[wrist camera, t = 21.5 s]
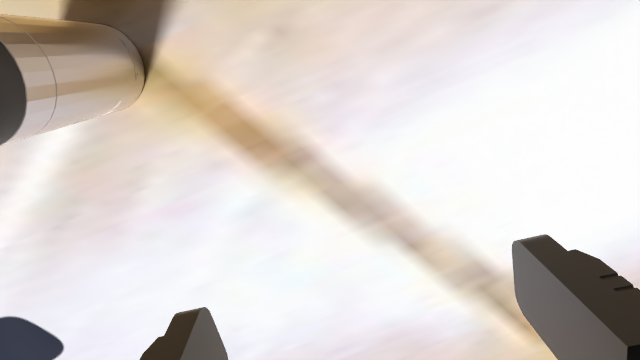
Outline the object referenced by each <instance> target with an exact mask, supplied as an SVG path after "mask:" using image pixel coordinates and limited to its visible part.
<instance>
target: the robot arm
mask: <svg viewBox="0 0 640 360" xmlns="http://www.w3.org/2000/svg"><path fill="white" fill-rule="evenodd" d="M144 78H145V74H144V66H143V62H142V59H141V56H140V54H139V52H138V50H137V49H136V47H135V46H134V45H133V43H132V42H131V41H130V40H129V39H128V38H127V37H126V36H125V35H124V34H123V33H121V32H120V31H118V30H116V29H115V28H112V27H110V26H107V25H103V24H97V23H86V22H77V21H67V20H57V19H46V18H36V17H25V16H15V15H4V14H0V146H2V145H5V144H8V143H12V142H15V141H18V140H22V139H25V138H28V137H31V136H34V135H38V134H41V133H44V132H48V131H51V130H55V129H58V128H61V127H65V126H68V125H71V124H75V123H78V122H82V121H85V120H88V119H92V118H95V117H98V116H102V115H105V114H109V113H112V112H115V111H119V110H122V109H125V108H126V107H128V106H130V105H131V104H132V103H133V102H135V101H136V100H137V98H138V97H139V95H140V94H141V91H142V88H143V86H144ZM512 258H513V271H514V285H515V294H516V299H517V302H518V304H519V307H520V309H521V311H522V313H523V315H524V316H525V318H526V319H527V320H528V322H529V323H530V324H531V325H532V327H533V328H534V329H535V331H536V332H537V333H538V334H539V336H540V337H541V338H542V340H543V341H544V342H545V344H546V345H547V346H548V347H549V349H550V350H551V351H552V353H553V354H554V355H555V356H556V358H557V359H558V360H640V290H639V289H638V288H634V287H633V284H631V283H630V282H629V281H627V280H626V279H625V278H623V277H622V276H618V274H617V272H615V271H614V270H613V269H612V268H610V267H609V266H608V265H606V264H605V263H604V262H602V261H601V260H600V259H598V258H595V257H593V256H590V255H588V254H585V253H583V252H581V251H578V250H576V249H575V250H570V251H567V250H566V249H564V248H563V247H562V246H561V245H560V244H558V243H557V242H556V241H555V240H554V239H552V238H551V237H550V236H548V235H540V236H535V237H531V238H526V239H521V240H517V241H514V242H513V244H512ZM140 360H228V357H227V352H226V350H225V347H224V345H223V342H222V340H221V337H220V335H219V333H218V330H217V328H216V325H215V323H214V320H213V318H212V316H211V313H210V311H209V310H208V309H207V308H206V307H203V308H198V309H193V310H189V311H184V312H180V313H176V314H175V315H174V317H173V319H172V321H171V323H170V325H169V327H168V329H167V331H166V333H165V335H164V336H162V337H158V338H157V339H156V340H155V341H154V342H153V344H152V345H151V346H150V347H149V348H148V349H147V350H146V351H145V352H144V353H143V354H142V356H141V358H140Z"/></svg>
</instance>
